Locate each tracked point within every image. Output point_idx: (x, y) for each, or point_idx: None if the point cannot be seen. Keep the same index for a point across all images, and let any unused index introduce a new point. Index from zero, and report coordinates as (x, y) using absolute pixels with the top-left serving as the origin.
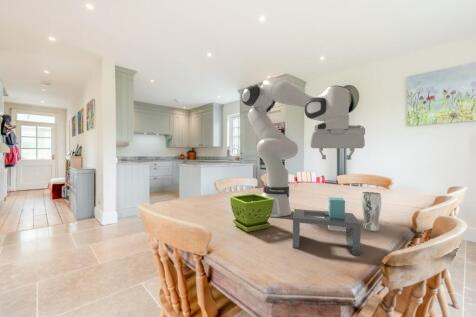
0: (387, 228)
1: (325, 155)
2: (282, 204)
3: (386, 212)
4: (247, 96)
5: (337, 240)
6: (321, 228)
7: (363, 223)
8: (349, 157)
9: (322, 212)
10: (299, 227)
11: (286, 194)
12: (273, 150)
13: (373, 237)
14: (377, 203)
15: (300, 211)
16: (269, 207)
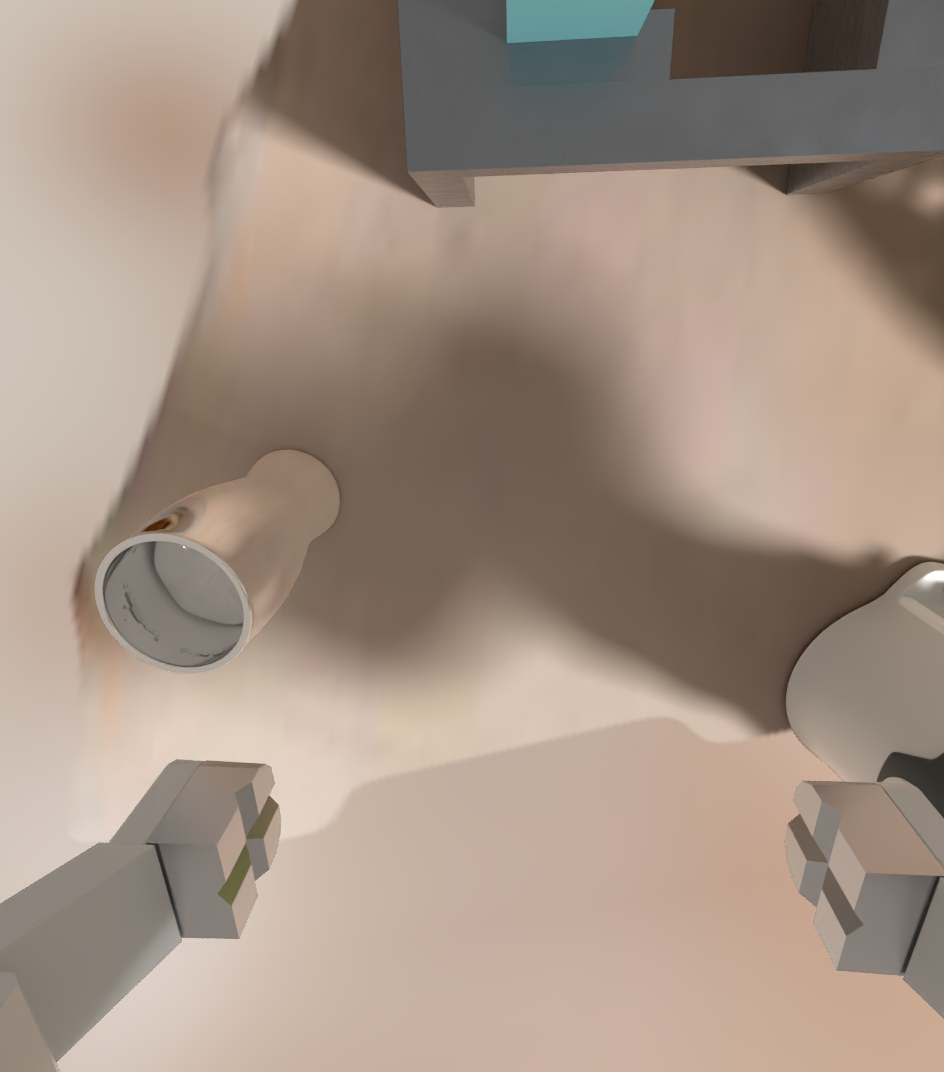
0: None
1: (872, 859)
2: (919, 665)
3: None
4: None
5: (529, 184)
6: (605, 410)
7: (326, 508)
8: (187, 792)
9: (686, 91)
10: (863, 7)
11: (929, 759)
12: None
13: (298, 333)
14: (168, 507)
15: (918, 46)
16: None
